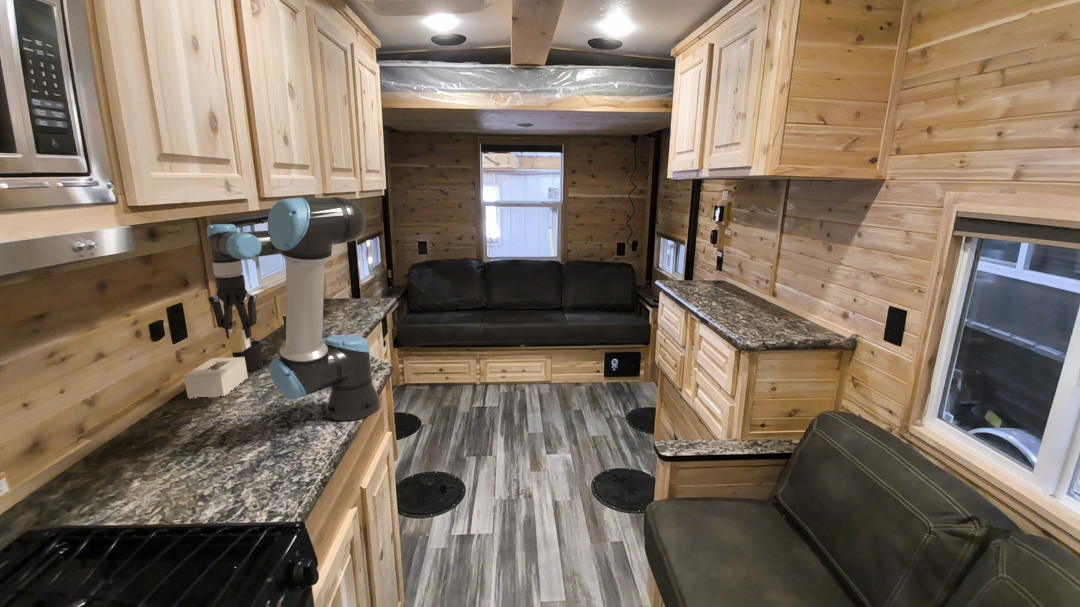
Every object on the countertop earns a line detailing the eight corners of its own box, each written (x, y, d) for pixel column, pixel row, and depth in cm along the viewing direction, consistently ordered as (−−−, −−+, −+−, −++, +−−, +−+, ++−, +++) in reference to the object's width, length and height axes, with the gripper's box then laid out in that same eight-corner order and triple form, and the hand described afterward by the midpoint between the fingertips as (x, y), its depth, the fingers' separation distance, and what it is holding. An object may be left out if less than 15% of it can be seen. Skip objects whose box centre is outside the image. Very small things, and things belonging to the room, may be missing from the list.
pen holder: (251, 374, 173) (247, 348, 171) (229, 373, 175) (224, 347, 172) (269, 365, 182) (266, 340, 180) (248, 364, 184) (244, 340, 181)
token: (241, 352, 148) (238, 333, 146) (231, 352, 148) (228, 334, 146) (251, 345, 154) (248, 328, 152) (241, 346, 153) (238, 328, 152)
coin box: (224, 396, 155) (219, 373, 153) (188, 398, 153) (183, 375, 152) (248, 377, 170) (244, 356, 168) (215, 379, 169) (211, 358, 167)
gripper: (262, 272, 149) (272, 343, 155) (208, 273, 148) (220, 345, 153) (250, 276, 142) (262, 350, 148) (193, 278, 140) (207, 352, 146)
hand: (241, 347), depth 150 cm, fingers closed on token, 3 cm apart
